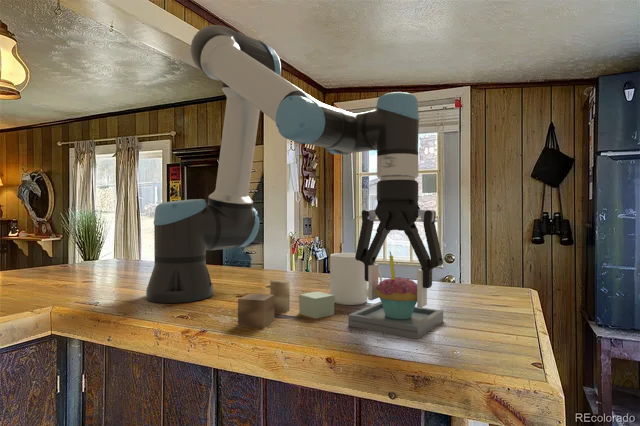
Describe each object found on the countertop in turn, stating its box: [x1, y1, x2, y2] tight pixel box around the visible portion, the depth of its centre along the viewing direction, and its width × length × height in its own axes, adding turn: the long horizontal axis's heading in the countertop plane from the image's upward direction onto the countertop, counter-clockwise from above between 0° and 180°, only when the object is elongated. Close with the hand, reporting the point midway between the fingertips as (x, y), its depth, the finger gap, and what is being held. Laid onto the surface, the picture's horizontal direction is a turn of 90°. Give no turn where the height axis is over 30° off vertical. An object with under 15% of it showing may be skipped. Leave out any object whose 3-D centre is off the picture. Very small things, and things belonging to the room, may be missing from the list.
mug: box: [329, 252, 383, 306], centre depth 91 cm, size 9×12×11 cm
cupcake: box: [376, 251, 417, 319], centre depth 74 cm, size 9×8×12 cm
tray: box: [347, 301, 444, 340], centre depth 73 cm, size 13×13×2 cm
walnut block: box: [237, 292, 275, 329], centre depth 73 cm, size 5×5×5 cm
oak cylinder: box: [269, 279, 291, 314], centre depth 83 cm, size 4×4×6 cm
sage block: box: [298, 290, 335, 319], centre depth 80 cm, size 5×5×4 cm
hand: (396, 302), depth 73 cm, fingers open, 9 cm apart
